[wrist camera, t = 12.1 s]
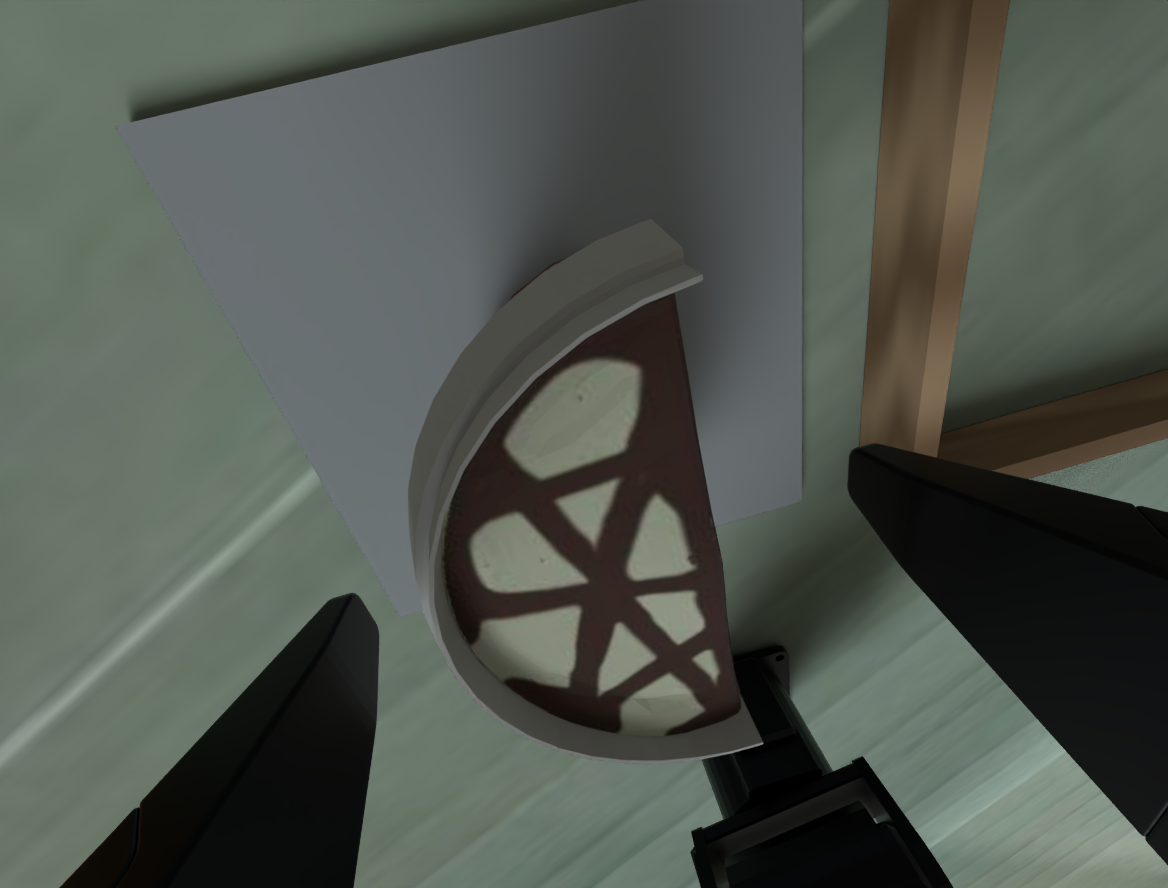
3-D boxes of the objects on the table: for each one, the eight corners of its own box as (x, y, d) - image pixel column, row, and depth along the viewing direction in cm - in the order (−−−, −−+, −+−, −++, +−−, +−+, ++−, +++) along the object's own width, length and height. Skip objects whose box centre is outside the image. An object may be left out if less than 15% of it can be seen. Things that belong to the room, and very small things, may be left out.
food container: (373, 257, 15) (212, 376, 6) (574, 197, 15) (697, 230, 6) (508, 560, 21) (524, 836, 12) (649, 515, 21) (765, 756, 12)
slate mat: (794, 494, 23) (801, 501, 22) (402, 606, 22) (400, 617, 21) (790, -31, 14) (802, -38, 13) (130, 128, 13) (114, 125, 12)
